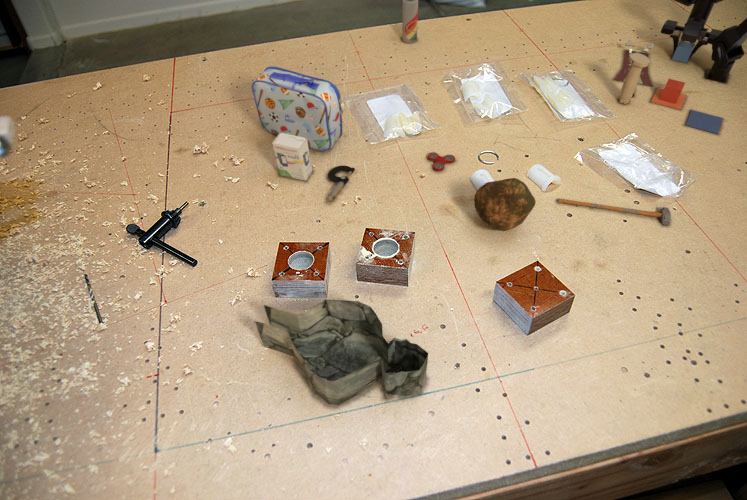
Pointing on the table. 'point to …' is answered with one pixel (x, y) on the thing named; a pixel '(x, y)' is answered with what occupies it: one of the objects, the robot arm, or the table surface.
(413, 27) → the spray bottle
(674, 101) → the red block
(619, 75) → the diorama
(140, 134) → the table surface
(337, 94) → the lunch box
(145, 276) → the table surface
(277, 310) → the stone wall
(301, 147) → the ink box
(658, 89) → the orange square mat
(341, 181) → the micrometer
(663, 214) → the sledgehammer
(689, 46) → the blue block
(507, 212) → the rock
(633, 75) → the handle
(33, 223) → the table surface
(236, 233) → the table surface
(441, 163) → the fidget spinner
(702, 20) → the robot arm
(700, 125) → the blue mat
